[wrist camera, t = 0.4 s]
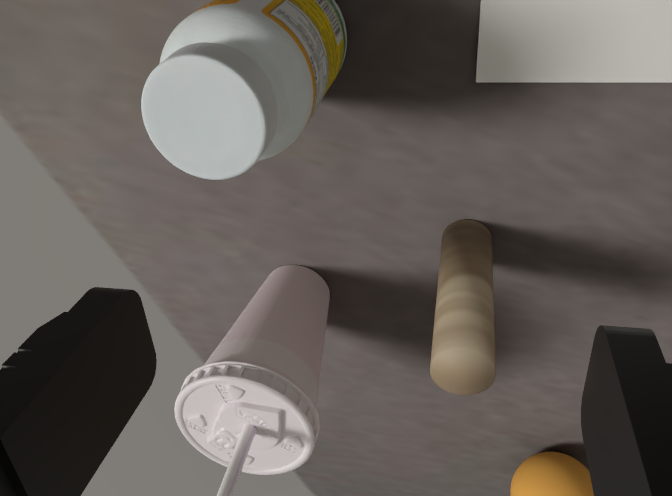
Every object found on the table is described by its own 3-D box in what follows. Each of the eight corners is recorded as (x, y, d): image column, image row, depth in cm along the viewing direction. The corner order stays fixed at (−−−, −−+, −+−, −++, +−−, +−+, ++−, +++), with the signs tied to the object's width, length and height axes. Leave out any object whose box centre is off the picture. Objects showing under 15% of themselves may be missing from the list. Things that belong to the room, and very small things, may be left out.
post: (442, 218, 29) (430, 345, 22) (493, 220, 29) (498, 351, 22) (441, 258, 31) (429, 391, 23) (490, 261, 30) (493, 397, 23)
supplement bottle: (362, -13, 24) (307, 61, 16) (333, 109, 27) (275, 220, 20) (234, -50, 24) (119, 6, 17) (220, 76, 28) (118, 172, 20)
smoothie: (377, 304, 33) (324, 548, 22) (297, 350, 36) (215, 584, 25) (297, 223, 31) (194, 446, 20) (220, 279, 34) (92, 499, 23)
